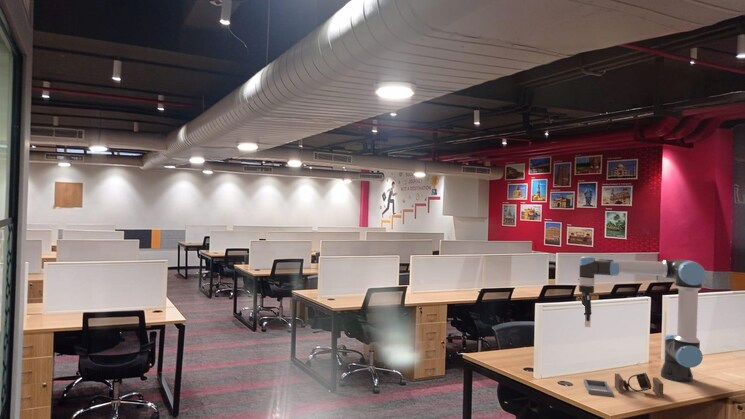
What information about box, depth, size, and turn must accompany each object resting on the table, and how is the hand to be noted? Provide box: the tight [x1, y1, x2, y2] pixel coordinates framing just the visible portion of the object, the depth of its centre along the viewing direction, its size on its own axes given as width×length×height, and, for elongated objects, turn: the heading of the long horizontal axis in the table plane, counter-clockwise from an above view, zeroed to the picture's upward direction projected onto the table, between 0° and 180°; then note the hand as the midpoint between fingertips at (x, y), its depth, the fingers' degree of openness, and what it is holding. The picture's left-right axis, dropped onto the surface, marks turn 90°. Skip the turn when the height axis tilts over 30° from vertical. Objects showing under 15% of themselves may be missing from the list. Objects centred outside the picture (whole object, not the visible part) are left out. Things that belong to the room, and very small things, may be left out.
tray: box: [583, 378, 614, 397], centre depth 254 cm, size 11×17×2 cm, turn 165°
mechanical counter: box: [623, 372, 653, 392], centre depth 252 cm, size 7×13×10 cm, turn 78°
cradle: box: [614, 373, 664, 399], centre depth 252 cm, size 19×10×7 cm, turn 75°
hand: (585, 324), depth 278 cm, fingers open, 13 cm apart
